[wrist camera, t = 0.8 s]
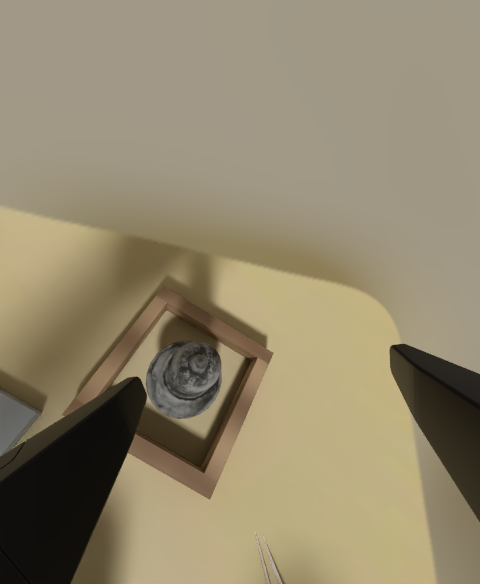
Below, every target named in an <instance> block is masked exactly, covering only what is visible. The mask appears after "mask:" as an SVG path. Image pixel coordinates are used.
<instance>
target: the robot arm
mask: <svg viewBox="0 0 480 584" xmlns="http://www.w3.org/2000/svg"><path fill="white" fill-rule="evenodd" d="M390 368H391V372H392V375H393V377H394V379H395V381H396V383H397V385H398V387H399V389H400V391H401V393H402V395H403V397H404V399H405V401H406V403H407V405H408V407H409V409H410V411H411V413H412V415H413V417H414V419H415V421H416V422H417V424H418V426H419V427H420V429H421V430H422V432H423V433H424V435H425V436H426V438H427V440H428V441H429V443H430V445H431V446H432V447H433V449H434V451H435V452H436V454H437V456H438V457H439V459H440V460H441V462H442V463H443V465H444V467H445V468H446V470H447V471H448V473H449V475H450V476H451V478H452V479H453V481H454V482H455V484H456V486H457V487H458V489H459V490H460V492H461V493H462V495H463V496H464V498H465V500H466V501H467V503H468V504H469V506H470V507H471V509H472V511H473V512H474V514H475V515H476V517H477V519H478V520H479V522H480V374H478V373H476V372H473V371H471V370H468V369H466V368H463V367H461V366H458V365H456V364H453V363H451V362H448V361H446V360H443V359H441V358H439V357H436V356H434V355H431V354H429V353H426V352H424V351H421V350H418V349H416V348H414V347H411V346H409V345H406V344H398V345H392V346H391V347H390ZM146 399H147V394H146V391H145V389H144V386H143V384H142V382H141V379H140V378H139V377H129V378H127V379H125V380H123V381H122V382H120V383H118V384H117V385H115V386H114V387H112V388H110V389H109V390H107V391H106V392H104V393H102V394H101V395H99V396H97V397H96V398H94V399H93V400H91V401H89V402H88V403H86V404H85V405H83V406H81V407H80V408H78V409H76V410H75V411H73V412H72V413H70V414H68V415H67V416H65V417H64V418H62V419H60V420H59V421H57V422H55V423H54V424H52V425H51V426H49V427H47V428H46V429H44V430H43V431H41V432H39V433H38V434H36V435H34V436H33V437H31V438H30V439H28V440H27V441H26V442H23V443H21V444H20V445H18V446H17V447H15V448H13V449H12V450H10V451H8V452H7V453H5V454H4V455H2V456H0V584H71V582H72V580H73V577H74V575H75V573H76V570H77V568H78V566H79V564H80V561H81V559H82V557H83V554H84V552H85V550H86V547H87V545H88V543H89V541H90V538H91V536H92V534H93V531H94V529H95V527H96V524H97V522H98V520H99V518H100V515H101V513H102V511H103V508H104V506H105V504H106V501H107V499H108V497H109V494H110V492H111V490H112V488H113V485H114V483H115V481H116V478H117V476H118V474H119V471H120V469H121V467H122V465H123V462H124V460H125V458H126V455H127V453H128V451H129V448H130V446H131V444H132V441H133V439H134V436H135V433H136V430H137V427H138V424H139V421H140V418H141V415H142V412H143V409H144V406H145V403H146Z"/></svg>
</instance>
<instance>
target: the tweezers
mask: <svg viewBox="0 0 480 584" xmlns="http://www.w3.org/2000/svg"><path fill="white" fill-rule="evenodd" d="M255 535H256V540H257V544H258V548H259V553H260V557H261V562H262V566H263V570H264V574H265V578H266V582H267V584H270V582H269V578H268V574H267V570H266V566H265V562H264V558H263V555H262V551H261V547H260V544H259V540H258V537H257V534H256V531H255ZM263 539H264V536H263ZM264 543H265V546H266V549H267V552H268V556H269V559H270V563H271V566H272V569H273V571H274V574H275V576H276V578H277V580H278V583H279V584H283V583H282V580H281V578H280V576H279V573H278V571H277V569H276V566H275V563H274V561H273V558H272V556H271V554H270V551H269V549H268V546H267V544H266V541H265V539H264Z"/></svg>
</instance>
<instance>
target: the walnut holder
mask: <svg viewBox="0 0 480 584" xmlns="http://www.w3.org/2000/svg"><path fill="white" fill-rule="evenodd" d="M166 310H168V311H170V312H171V313H173V314H175V315H176V316H178V317H179V318H181V319H183V320H184V321H186V322H188V323H189V324H191V325H193V326H194V327H196V328H198V329H199V330H201V331H203V332H204V333H206V334H208V335H209V336H211V337H213V338H214V339H216V340H218V341H219V342H221V343H223V344H224V345H226V346H227V347H229V348H231V349H232V350H234V351H236V352H237V353H239V354H241V355H242V356H244V357H246V358H247V359H249V360H251V362H250V365H249V367H248V369H247V371H246V373H245V375H244V377H243V379H242V381H241V383H240V386H239V388H238V390H237V392H236V394H235V396H234V398H233V400H232V402H231V405H230V407H229V409H228V411H227V413H226V415H225V417H224V419H223V421H222V424H221V426H220V428H219V430H218V432H217V434H216V436H215V438H214V440H213V442H212V445H211V447H210V449H209V451H208V453H207V455H206V457H205V459H204V461H203V464H202V466H201V468H199V467H198V466H196V465H194V464H193V463H191V462H189V461H187V460H186V459H184V458H182V457H180V456H179V455H177V454H175V453H174V452H172V451H170V450H168V449H167V448H165V447H163V446H161V445H160V444H158V443H156V442H155V441H153V440H151V439H149V438H148V437H146V436H144V435H142V434H141V433H139V432H137V431H136V433H135V436H134V439H133V441H132V444H131V446H130V448H129V451H128V453H130V454H131V455H133V456H135V457H136V458H138V459H140V460H142V461H143V462H145V463H147V464H149V465H150V466H152V467H154V468H156V469H157V470H159V471H161V472H163V473H164V474H166V475H168V476H170V477H171V478H173V479H175V480H177V481H178V482H180V483H182V484H184V485H185V486H187V487H189V488H191V489H192V490H194V491H196V492H198V493H199V494H201V495H203V496H205V497H206V498H208V499H210V498H211V496H212V494H213V491H214V489H215V487H216V484H217V482H218V480H219V478H220V475H221V473H222V471H223V468H224V466H225V464H226V461H227V459H228V457H229V454H230V452H231V450H232V448H233V445H234V443H235V441H236V438H237V436H238V434H239V431H240V429H241V427H242V425H243V422H244V420H245V418H246V415H247V413H248V411H249V408H250V406H251V404H252V402H253V399H254V397H255V395H256V392H257V390H258V388H259V385H260V383H261V381H262V378H263V376H264V374H265V372H266V369H267V367H268V365H269V362H270V360H271V358H272V355H273V352H271V351H269V350H268V349H266V348H264V347H263V346H261V345H259V344H258V343H256V342H255V341H253V340H251V339H250V338H248V337H246V336H245V335H243V334H241V333H240V332H238V331H236V330H235V329H233V328H232V327H230V326H228V325H227V324H225V323H223V322H222V321H220V320H218V319H217V318H215V317H213V316H212V315H210V314H209V313H207V312H205V311H204V310H202V309H200V308H199V307H197V306H195V305H194V304H192V303H190V302H189V301H187V300H186V299H184V298H182V297H181V296H179V295H177V294H176V293H174V292H172V291H171V290H169V289H167V288H166V287H164V286H163V288H162V289H161V290H160V291H159V293H158V294H157V295H156V296H155V298H154V299H153V300H152V302H151V303H150V304H149V305H148V307H147V308H146V309H145V310H144V312H143V313H142V314H141V315H140V317H139V318H138V319H137V321H136V322H135V323H134V324H133V326H132V327H131V328H130V329H129V331H128V332H127V333H126V334H125V336H124V337H123V338H122V340H121V341H120V342H119V343H118V345H117V346H116V347H115V348H114V350H113V351H112V352H111V353H110V355H109V356H108V357H107V359H106V360H105V361H104V362H103V364H102V365H101V366H100V367H99V369H98V370H97V371H96V372H95V374H94V375H93V376H92V378H91V379H90V380H89V381H88V383H87V384H86V385H85V386H84V388H83V389H82V390H81V391H80V393H79V394H78V395H77V397H76V398H75V399H74V400H73V402H72V403H71V404H70V405H69V407H68V408H67V409H66V410H65V412H64V413H63V414H62V415H63V416H67V415H68V414H70V413H72V412H73V411H75V410H76V409H78V408H80V407H81V406H83V405H85V404H86V403H88V402H89V401H91V400H93V399H94V398H96V397H97V396H99V395H101V394H102V393H104V392H106V391H107V390H108V388H109V387H110V386H111V384H112V383H113V381H114V380H115V379H116V377H117V376H118V375H119V373H120V372H121V371H122V369H123V368H124V367H125V365H126V364H127V362H128V361H129V360H130V358H131V357H132V356H133V354H134V353H135V352H136V350H137V349H138V348H139V346H140V345H141V343H142V342H143V341H144V339H145V338H146V337H147V335H148V334H149V333H150V331H151V330H152V329H153V327H154V326H155V325H156V323H157V322H158V320H159V319H160V318H161V316H162V315H163V314H164V312H165V311H166Z"/></svg>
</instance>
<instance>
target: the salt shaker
mask: <svg viewBox="0 0 480 584" xmlns="http://www.w3.org/2000/svg"><path fill="white" fill-rule="evenodd" d="M221 382H222V379H221V359H220V356H219V354H218V352H217V351H216V350H215V349H214V348H213V347H212V346H211V345H209V344H207V343H204V342H193V341H180V342H176V343H172V344H170V345H168V346H166V347H165V348H163V349H162V350H161V351H160V352H159V353H158V354H157V355H156V356H155V358H154V359H153V360H152V362H151V364H150V366H149V369H148V372H147V379H146V386H147V392H148V395H149V397H150V400H151V402H152V404H153V405H154V406H155V407H156V408H157V409H158V410H159V411H160V412H162V413H163V414H165V415H167V416H169V417H173V418H177V419H183V418H191V417H194V416H197V415H199V414H201V413H202V412H204V411H205V410H206V409H208V408H209V407H210V405H211V404H212V403H213V402H214V401H215V399H216V397H217V395H218V393H219V391H220V386H221Z"/></svg>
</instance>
